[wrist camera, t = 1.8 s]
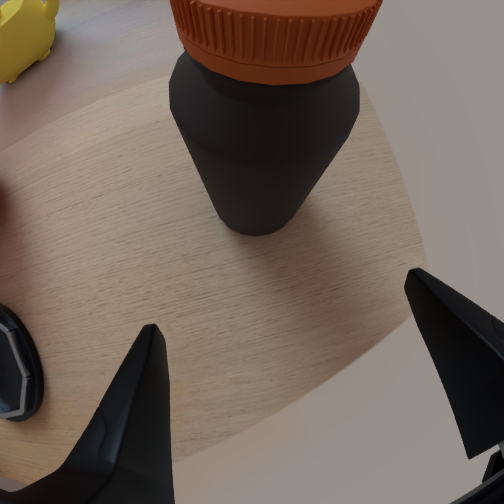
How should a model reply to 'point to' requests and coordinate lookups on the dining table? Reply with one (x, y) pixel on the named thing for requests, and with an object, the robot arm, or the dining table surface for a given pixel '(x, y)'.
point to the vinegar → (266, 99)
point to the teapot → (25, 35)
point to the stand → (18, 370)
